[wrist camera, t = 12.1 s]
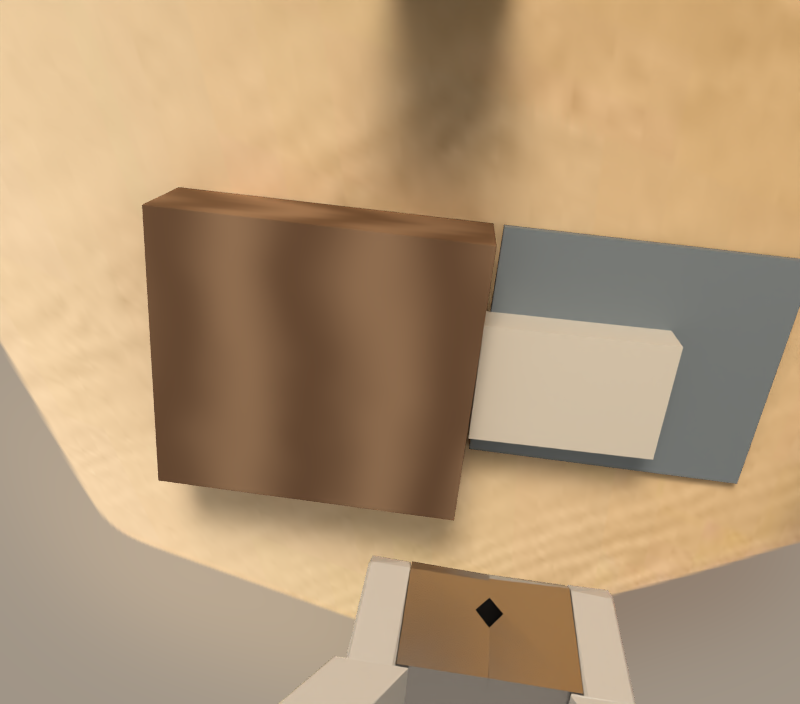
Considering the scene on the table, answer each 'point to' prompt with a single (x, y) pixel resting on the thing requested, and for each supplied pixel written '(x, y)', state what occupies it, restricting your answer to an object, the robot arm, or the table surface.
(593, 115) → the table surface
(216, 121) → the table surface
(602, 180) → the table surface
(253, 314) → the wooden square slab
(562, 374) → the rectangular block
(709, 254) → the mat
